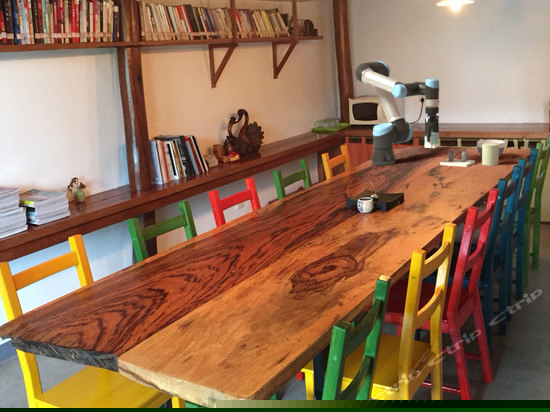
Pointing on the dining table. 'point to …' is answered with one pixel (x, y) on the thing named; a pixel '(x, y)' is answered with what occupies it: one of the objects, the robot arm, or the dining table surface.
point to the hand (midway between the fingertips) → (431, 146)
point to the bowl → (500, 142)
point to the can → (490, 154)
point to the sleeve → (433, 140)
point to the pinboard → (457, 160)
